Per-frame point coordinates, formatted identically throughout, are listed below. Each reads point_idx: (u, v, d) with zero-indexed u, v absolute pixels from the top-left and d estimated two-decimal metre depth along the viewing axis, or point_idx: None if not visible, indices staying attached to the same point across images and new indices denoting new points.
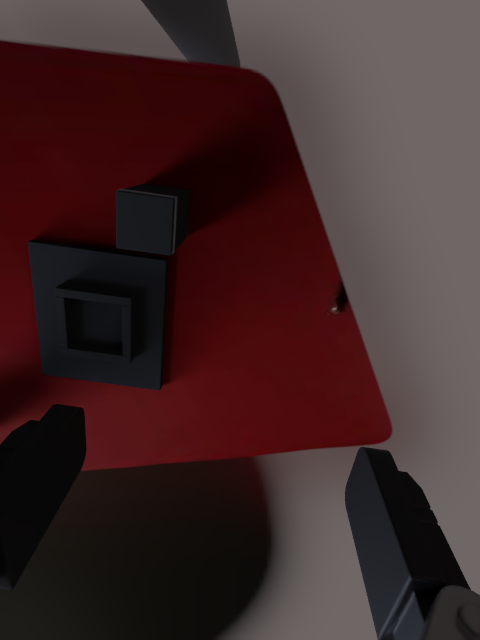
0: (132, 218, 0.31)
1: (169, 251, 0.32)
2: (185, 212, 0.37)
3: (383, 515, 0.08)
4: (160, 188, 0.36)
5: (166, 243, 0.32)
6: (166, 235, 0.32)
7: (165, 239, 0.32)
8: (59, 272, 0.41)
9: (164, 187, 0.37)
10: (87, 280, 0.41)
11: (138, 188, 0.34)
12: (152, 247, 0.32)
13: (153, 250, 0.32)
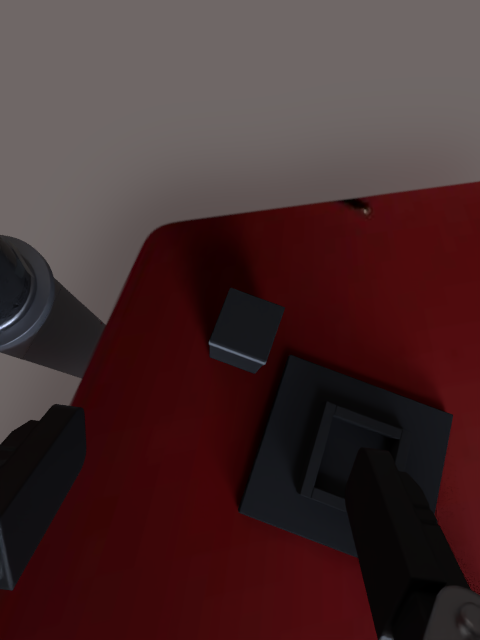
0: (239, 333, 0.29)
1: (280, 307, 0.30)
2: None
3: (383, 515, 0.08)
4: None
5: (271, 307, 0.30)
6: (263, 304, 0.30)
7: (267, 306, 0.30)
8: (282, 487, 0.33)
9: None
10: (297, 454, 0.34)
11: None
12: (273, 322, 0.30)
13: (276, 323, 0.30)
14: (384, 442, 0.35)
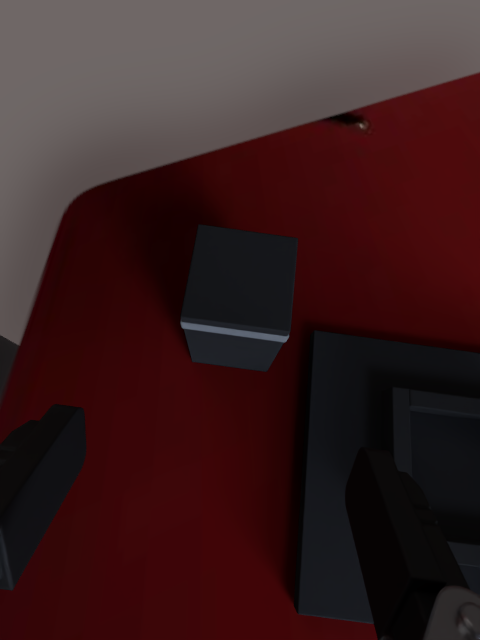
0: (231, 294, 0.16)
1: (290, 238, 0.18)
2: None
3: (383, 515, 0.08)
4: None
5: (276, 242, 0.17)
6: (261, 240, 0.17)
7: (269, 242, 0.17)
8: None
9: None
10: None
11: None
12: (284, 266, 0.17)
13: (290, 265, 0.17)
14: None
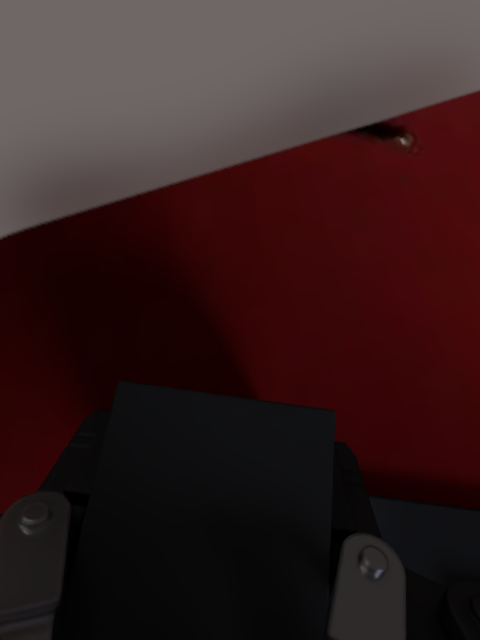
0: (183, 575, 0.07)
1: (319, 413, 0.08)
2: None
3: None
4: None
5: (287, 423, 0.08)
6: (255, 420, 0.08)
7: (272, 424, 0.08)
8: None
9: None
10: None
11: None
12: (308, 487, 0.07)
13: (321, 484, 0.08)
14: None
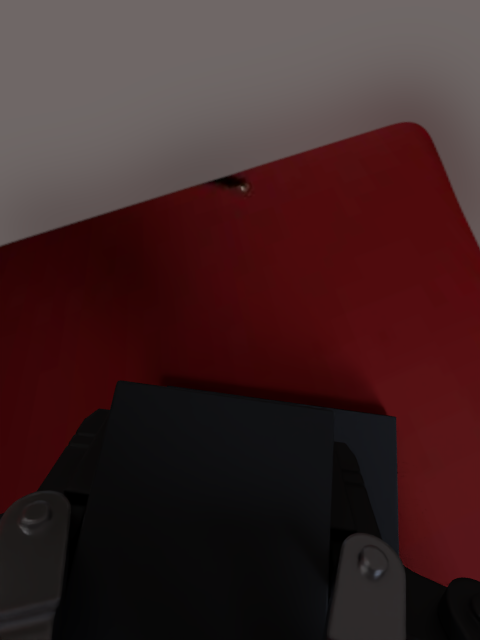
0: (182, 575, 0.07)
1: (318, 413, 0.08)
2: None
3: None
4: None
5: (287, 423, 0.08)
6: (255, 420, 0.08)
7: (272, 424, 0.08)
8: None
9: None
10: None
11: None
12: (307, 487, 0.07)
13: (320, 484, 0.08)
14: None
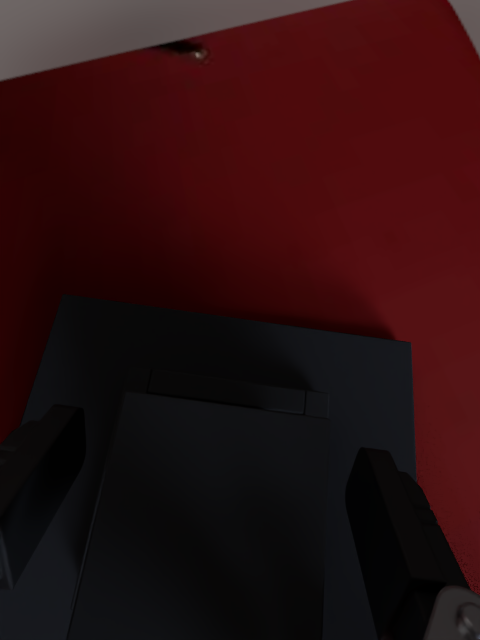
0: (187, 575, 0.07)
1: (315, 421, 0.08)
2: None
3: (383, 515, 0.08)
4: None
5: (285, 431, 0.08)
6: (255, 428, 0.08)
7: (271, 431, 0.08)
8: (50, 594, 0.14)
9: None
10: (85, 502, 0.15)
11: None
12: (305, 492, 0.08)
13: (317, 489, 0.08)
14: None
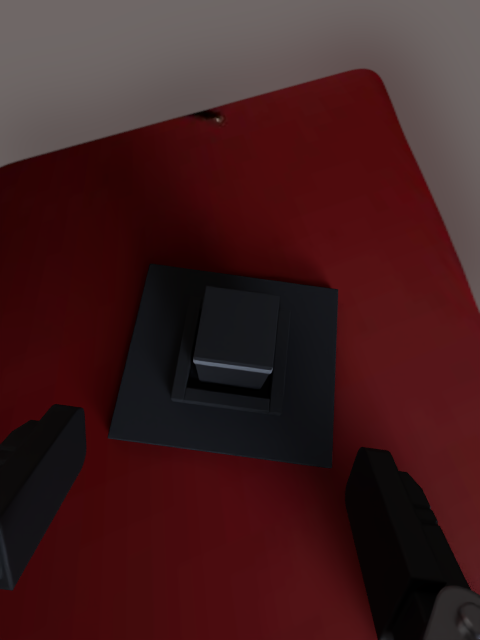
0: (230, 339, 0.22)
1: (274, 296, 0.24)
2: None
3: (383, 515, 0.08)
4: None
5: (263, 299, 0.24)
6: (252, 298, 0.23)
7: (258, 299, 0.23)
8: (156, 400, 0.29)
9: None
10: (170, 362, 0.30)
11: None
12: (269, 317, 0.23)
13: (273, 316, 0.23)
14: None
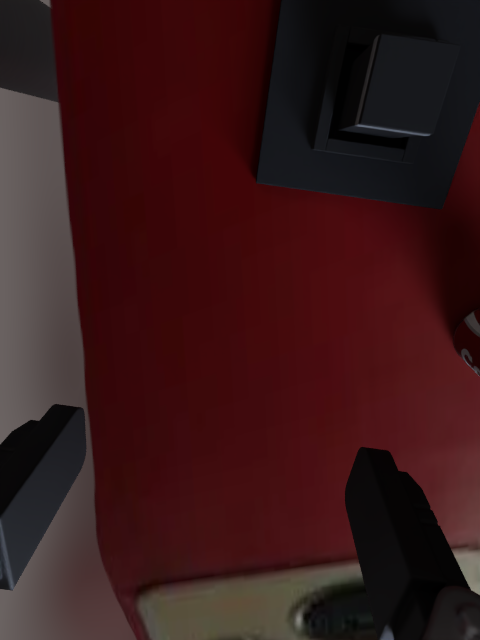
0: (398, 103, 0.23)
1: (454, 46, 0.22)
2: None
3: (383, 515, 0.08)
4: (349, 96, 0.28)
5: (441, 50, 0.22)
6: (430, 49, 0.22)
7: (436, 51, 0.22)
8: (296, 148, 0.32)
9: (345, 97, 0.29)
10: (309, 108, 0.31)
11: (351, 114, 0.27)
12: (443, 75, 0.23)
13: (447, 74, 0.23)
14: None
